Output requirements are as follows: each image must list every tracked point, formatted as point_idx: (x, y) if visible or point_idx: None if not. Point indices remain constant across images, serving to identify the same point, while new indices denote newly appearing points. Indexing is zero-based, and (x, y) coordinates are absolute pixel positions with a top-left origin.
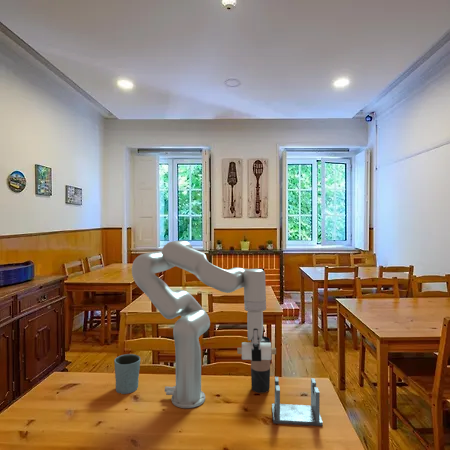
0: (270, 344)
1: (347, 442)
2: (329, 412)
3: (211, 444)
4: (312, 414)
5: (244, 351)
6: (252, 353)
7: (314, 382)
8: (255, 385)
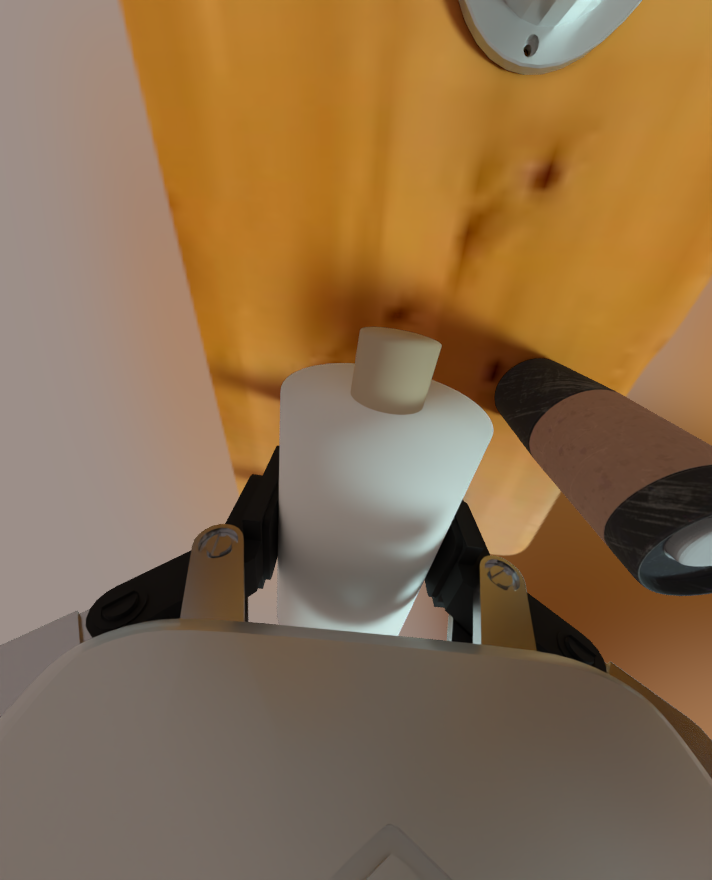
0: None
1: None
2: None
3: (156, 129)
4: None
5: (281, 427)
6: (256, 492)
7: None
8: (520, 378)
